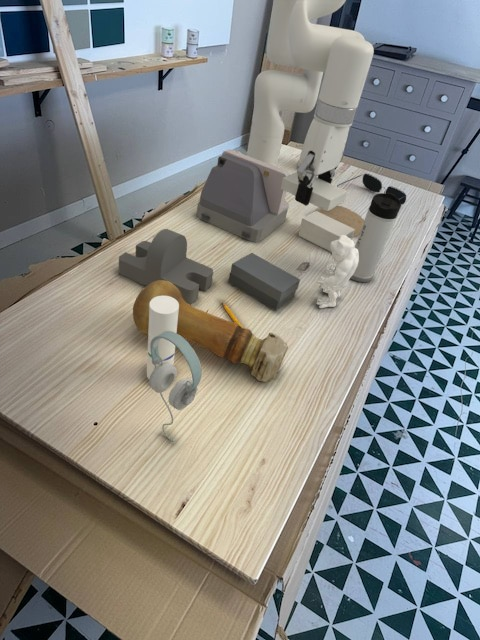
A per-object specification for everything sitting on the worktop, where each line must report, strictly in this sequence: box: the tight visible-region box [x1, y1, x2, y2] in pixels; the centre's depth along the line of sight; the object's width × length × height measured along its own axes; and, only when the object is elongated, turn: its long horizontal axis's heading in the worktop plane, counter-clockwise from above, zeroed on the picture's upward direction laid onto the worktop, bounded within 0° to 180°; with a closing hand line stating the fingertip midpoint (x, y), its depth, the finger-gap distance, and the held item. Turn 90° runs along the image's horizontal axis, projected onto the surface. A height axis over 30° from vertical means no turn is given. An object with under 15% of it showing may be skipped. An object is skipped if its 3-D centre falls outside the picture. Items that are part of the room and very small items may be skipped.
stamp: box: [132, 280, 289, 383], centre depth 81 cm, size 10×28×15 cm, turn 69°
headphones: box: [148, 331, 202, 443], centre depth 62 cm, size 8×4×20 cm, turn 49°
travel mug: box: [350, 192, 402, 283], centre depth 106 cm, size 6×7×20 cm
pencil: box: [222, 301, 244, 328], centre depth 89 cm, size 1×19×1 cm, turn 27°
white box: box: [281, 171, 348, 211], centre depth 99 cm, size 12×7×2 cm, turn 51°
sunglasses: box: [336, 173, 407, 206], centre depth 146 cm, size 17×15×5 cm
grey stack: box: [227, 252, 301, 312], centre depth 99 cm, size 13×7×5 cm, turn 51°
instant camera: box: [196, 148, 291, 243], centre depth 120 cm, size 21×21×15 cm
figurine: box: [315, 235, 359, 309], centre depth 97 cm, size 11×7×15 cm, turn 157°
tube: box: [146, 296, 179, 380], centre depth 73 cm, size 4×4×15 cm
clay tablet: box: [317, 205, 365, 238], centre depth 131 cm, size 14×10×3 cm
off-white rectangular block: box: [298, 210, 355, 253], centre depth 121 cm, size 12×7×5 cm, turn 52°
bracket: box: [118, 228, 214, 305], centre depth 95 cm, size 10×18×11 cm, turn 63°
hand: (311, 197), depth 100 cm, fingers closed on white box, 7 cm apart
